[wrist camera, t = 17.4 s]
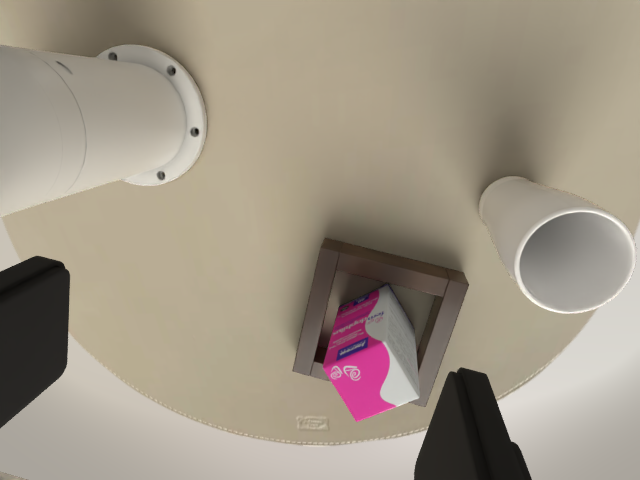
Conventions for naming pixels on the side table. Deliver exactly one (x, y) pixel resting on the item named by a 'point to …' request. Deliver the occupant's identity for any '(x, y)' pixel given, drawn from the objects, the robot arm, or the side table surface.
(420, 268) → the socket
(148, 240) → the side table surface
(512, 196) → the drinking glass
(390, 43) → the side table surface
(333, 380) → the supplement box
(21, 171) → the robot arm
